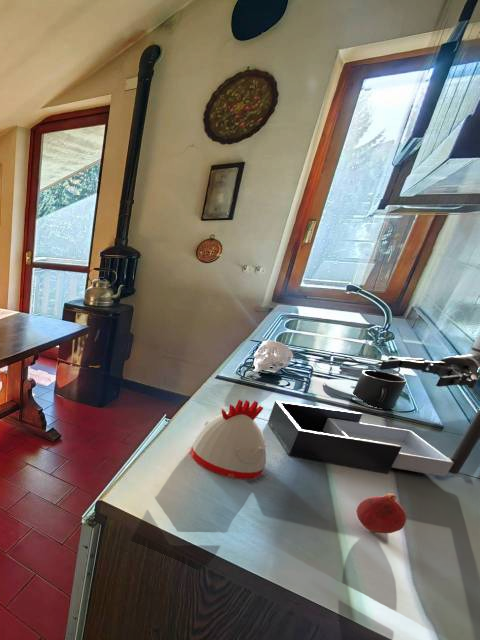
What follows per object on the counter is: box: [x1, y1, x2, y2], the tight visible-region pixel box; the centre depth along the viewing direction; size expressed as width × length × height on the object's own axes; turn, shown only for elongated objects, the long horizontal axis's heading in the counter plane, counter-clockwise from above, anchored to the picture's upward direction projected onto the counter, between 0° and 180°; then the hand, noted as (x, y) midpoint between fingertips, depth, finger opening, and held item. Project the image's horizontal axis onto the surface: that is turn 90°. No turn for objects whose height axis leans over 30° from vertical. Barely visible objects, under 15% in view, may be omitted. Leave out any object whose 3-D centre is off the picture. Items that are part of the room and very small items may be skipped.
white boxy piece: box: [323, 408, 480, 477], centre depth 87 cm, size 18×15×15 cm
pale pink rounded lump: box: [252, 339, 294, 373], centre depth 143 cm, size 10×14×12 cm
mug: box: [352, 369, 408, 410], centre depth 115 cm, size 9×12×9 cm
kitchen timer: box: [190, 399, 267, 480], centre depth 85 cm, size 14×14×15 cm
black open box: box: [267, 400, 402, 475], centre depth 93 cm, size 18×17×7 cm
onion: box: [355, 492, 407, 534], centre depth 66 cm, size 6×6×8 cm
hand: (409, 373), depth 115 cm, fingers open, 13 cm apart
